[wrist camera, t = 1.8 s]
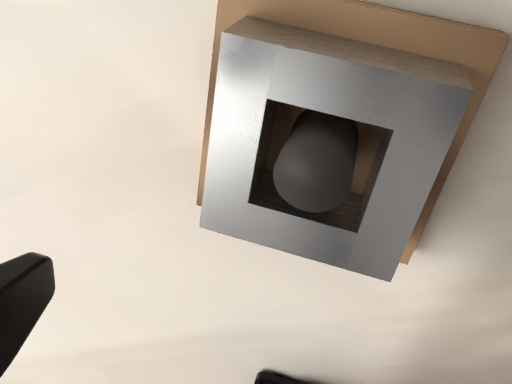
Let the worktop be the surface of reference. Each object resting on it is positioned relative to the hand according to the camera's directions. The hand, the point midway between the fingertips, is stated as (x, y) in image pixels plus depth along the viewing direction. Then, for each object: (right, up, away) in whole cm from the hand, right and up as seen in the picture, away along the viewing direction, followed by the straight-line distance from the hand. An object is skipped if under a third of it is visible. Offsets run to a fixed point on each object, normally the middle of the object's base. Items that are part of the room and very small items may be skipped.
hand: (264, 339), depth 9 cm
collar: (+2, +5, +8) cm, 10 cm away
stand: (+3, +5, +9) cm, 11 cm away
